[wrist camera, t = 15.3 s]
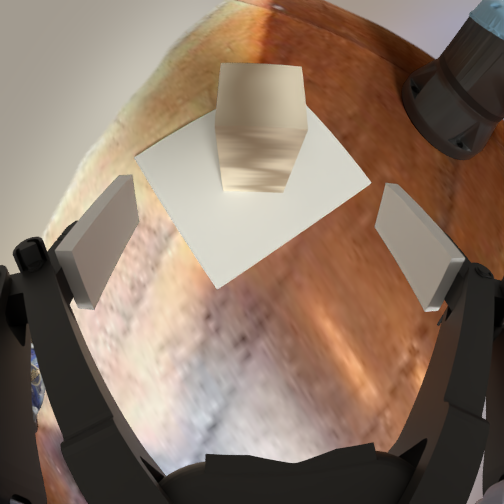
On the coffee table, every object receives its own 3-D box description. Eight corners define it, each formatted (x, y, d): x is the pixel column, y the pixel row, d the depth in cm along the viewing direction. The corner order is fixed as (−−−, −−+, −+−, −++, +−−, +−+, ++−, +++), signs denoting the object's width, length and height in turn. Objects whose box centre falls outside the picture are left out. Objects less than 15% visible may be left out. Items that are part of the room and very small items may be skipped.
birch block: (281, 139, 31) (301, 63, 19) (282, 192, 30) (308, 129, 18) (226, 137, 31) (221, 59, 19) (223, 191, 29) (214, 125, 18)
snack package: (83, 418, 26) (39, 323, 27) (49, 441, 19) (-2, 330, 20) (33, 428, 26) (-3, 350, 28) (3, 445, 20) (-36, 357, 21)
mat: (279, 81, 33) (280, 78, 32) (369, 184, 31) (371, 182, 30) (135, 159, 30) (134, 157, 30) (217, 289, 28) (217, 289, 28)
